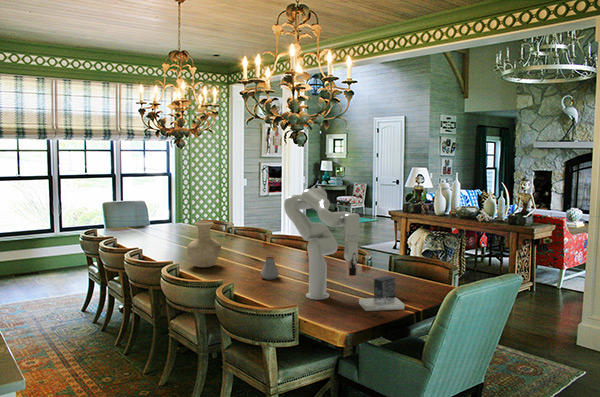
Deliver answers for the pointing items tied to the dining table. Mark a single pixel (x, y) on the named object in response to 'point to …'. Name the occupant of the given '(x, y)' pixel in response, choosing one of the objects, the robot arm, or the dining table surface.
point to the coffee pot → (268, 268)
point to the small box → (384, 287)
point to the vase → (204, 247)
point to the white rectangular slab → (381, 304)
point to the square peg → (348, 270)
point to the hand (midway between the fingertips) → (351, 273)
